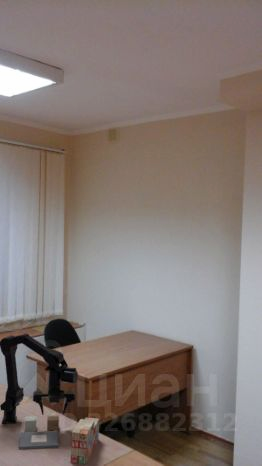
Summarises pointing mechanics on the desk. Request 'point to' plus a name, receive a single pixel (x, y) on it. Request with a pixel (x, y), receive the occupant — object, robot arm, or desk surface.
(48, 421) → the walnut block
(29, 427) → the sage block
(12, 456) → the desk surface
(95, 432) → the stack of blocks
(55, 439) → the blueprint board
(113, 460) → the desk surface
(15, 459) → the desk surface
